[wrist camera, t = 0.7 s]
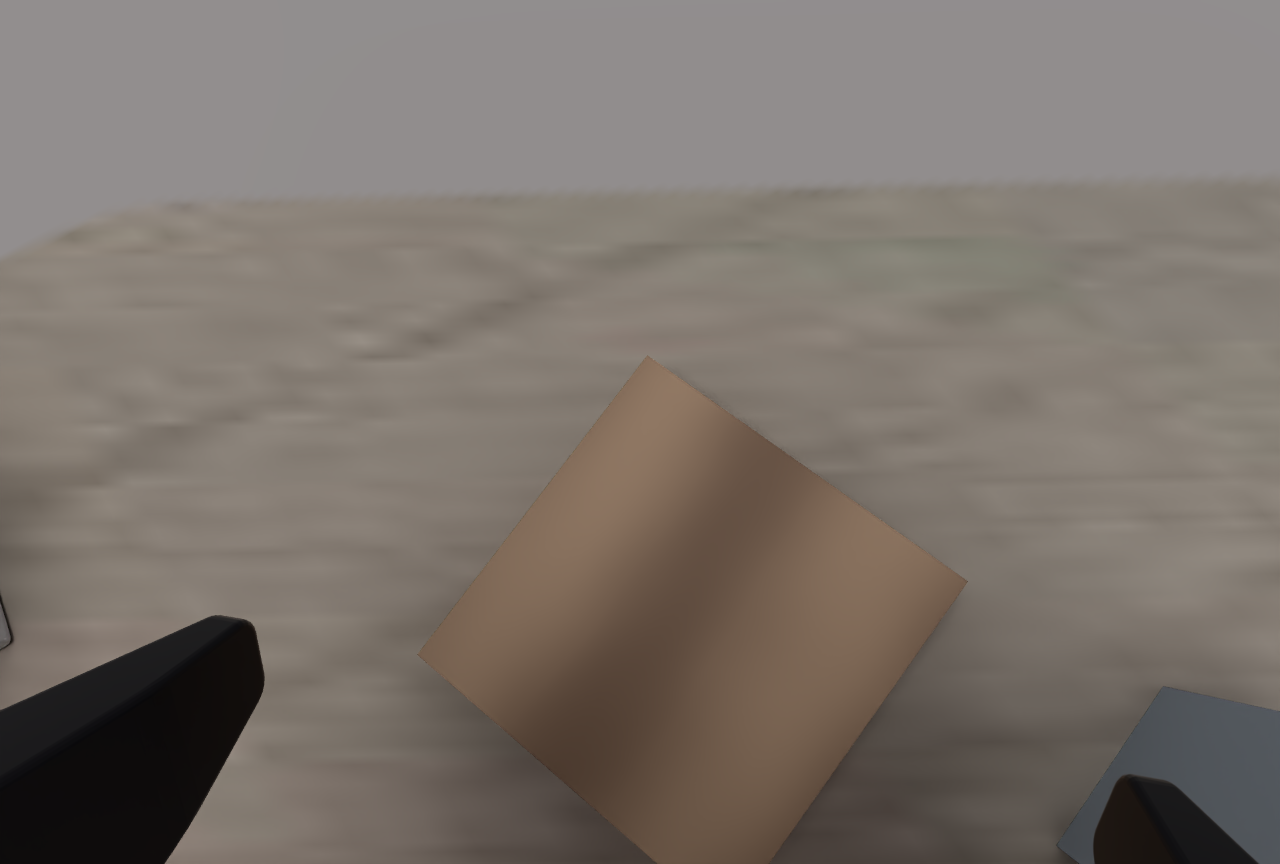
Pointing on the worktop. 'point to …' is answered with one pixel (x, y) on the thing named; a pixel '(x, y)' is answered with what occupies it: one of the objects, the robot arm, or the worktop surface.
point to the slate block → (1200, 769)
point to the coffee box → (3, 630)
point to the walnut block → (691, 626)
